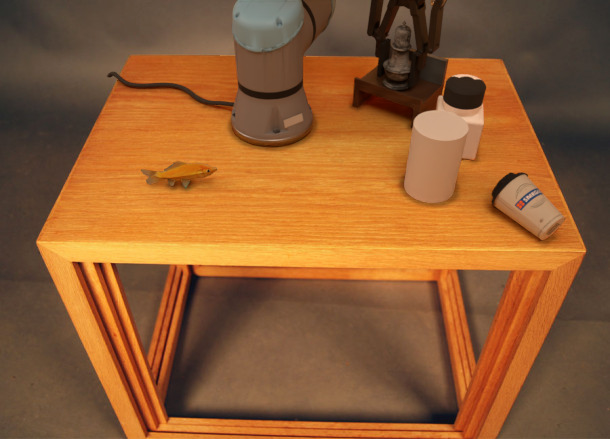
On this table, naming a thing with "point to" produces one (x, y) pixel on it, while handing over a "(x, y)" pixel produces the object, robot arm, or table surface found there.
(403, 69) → the salt shaker
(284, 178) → the table surface
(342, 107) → the table surface
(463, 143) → the beige cylinder
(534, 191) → the coffee cup
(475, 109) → the container
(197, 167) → the fish
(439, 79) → the spice rack
